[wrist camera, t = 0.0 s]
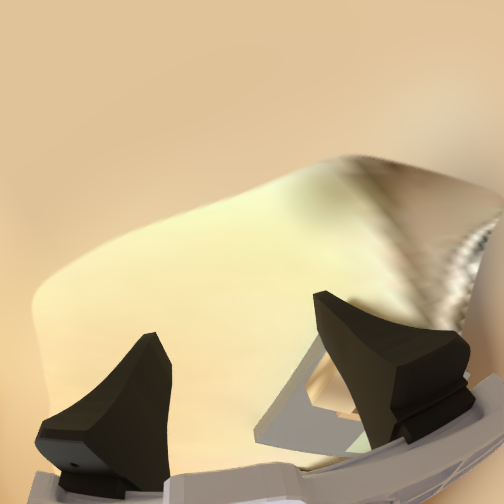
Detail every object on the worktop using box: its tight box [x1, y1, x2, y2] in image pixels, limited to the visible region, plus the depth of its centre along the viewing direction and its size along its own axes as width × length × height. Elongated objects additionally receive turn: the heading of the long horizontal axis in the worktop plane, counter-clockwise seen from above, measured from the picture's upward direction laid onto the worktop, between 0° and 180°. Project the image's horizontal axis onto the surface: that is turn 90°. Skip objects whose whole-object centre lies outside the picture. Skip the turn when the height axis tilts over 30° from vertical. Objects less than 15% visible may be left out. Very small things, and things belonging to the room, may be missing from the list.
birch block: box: [304, 351, 356, 414], centre depth 22 cm, size 4×4×3 cm
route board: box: [254, 334, 471, 458], centre depth 26 cm, size 15×22×4 cm
